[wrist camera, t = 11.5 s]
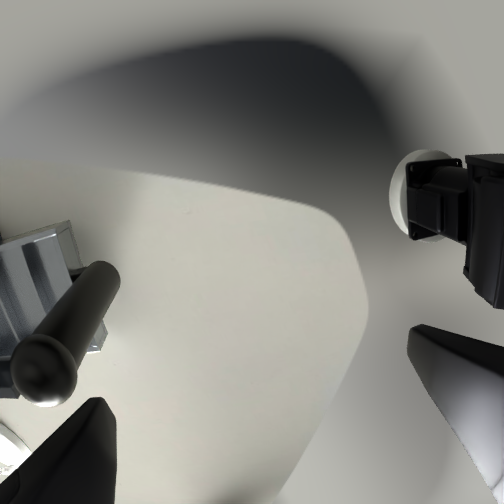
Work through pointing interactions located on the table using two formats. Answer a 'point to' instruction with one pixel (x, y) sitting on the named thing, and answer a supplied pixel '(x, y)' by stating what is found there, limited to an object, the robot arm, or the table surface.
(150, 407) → the table surface
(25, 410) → the table surface
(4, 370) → the grey drawer case
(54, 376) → the pull-out drawer
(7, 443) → the figurine
